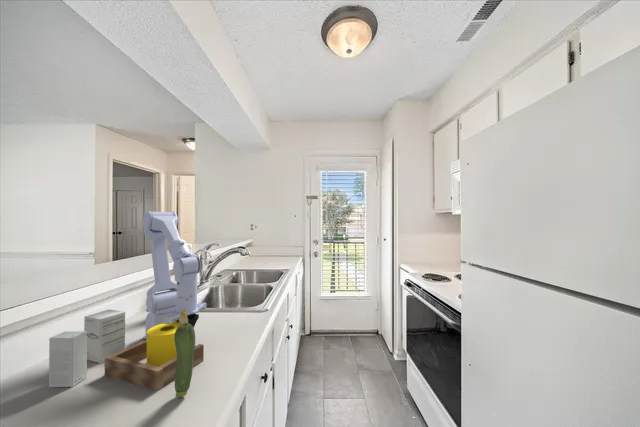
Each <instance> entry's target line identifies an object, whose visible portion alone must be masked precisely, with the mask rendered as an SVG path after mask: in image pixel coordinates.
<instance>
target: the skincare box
mask: <svg viewBox="0 0 640 427" xmlns="http://www.w3.org/2000/svg"><path fill="white" fill-rule="evenodd" d="M48 341H49V345H48V346H49V348H48V349H49V350H48V352H49V353H48V354H49V355H48V357H49V358H48V360H49V361H48V373H49V374H48V388H72V387H74V386H77V385H78V384H79V383H81V382H82V381H84V380H85V379H86V378H87V377H88V375H87V373H88V368H87V367H88V364H87V363H88V360H87V331H84V330H82V331H81V330H80V331H71V330H70V331H63V332H60V333H58V334H55V335H53V336H50V337H49V340H48Z"/></svg>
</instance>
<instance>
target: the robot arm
mask: <svg viewBox="0 0 640 427" xmlns="http://www.w3.org/2000/svg"><path fill="white" fill-rule="evenodd" d="M178 222H179V217H178V214H177V213H176V212H175V211H150V210H149V211H148V210H147V211H145V212H144V214H143V217H142V227H143V228H142V229H143V233H144V237H146V238H149V244H150V250H151V252H150V253H151V260H152V268H153V276H154V284H153V285H151V287H150V288H149V289H148V290H147V292H146V301H145V303H146V309H147V311H148V313H147V315H146V317H145V323H144V324H145V327H144V328H145V329H144V330H145V331H144V332H145V333H144V336H143V337H142V339H145V340H147V331H148V330H149V329H150V328H152V327H154V326H157V325H160V324H172V322H179V317H180V314H181V311H182V310H183V309H185V311H186V313H187V318H188V323H189V324H191V325H192V326H193V328H194V329H195V327H196V326H195V325H196V324H197V321H198V320H199V318H200V314H198V313H199V312H200V311H202V310H207V308H208V307H207V306H208V304H207V302H200V303H198V274H199V273H200V272H201V267H202V264H201V263H202V262H201V259H200V257H199V256H198V255H196V254H195V253H191V251H190V249H189V247H188V245H187V244H188V243H187V241H186V240H185V239H182V238H181V237H180V232H179V231H178ZM167 242H168V246H167ZM168 253H169V254H168ZM168 255H170V257H171V259H172V262H173V266H172V270H173V273H174V274H173V275H174V281H173V280H172V279H171V272H170V271H171V270H170V265H169V264H170V263H169V257H168ZM175 282H176V283H175Z"/></svg>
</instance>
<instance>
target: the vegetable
mask: <svg viewBox="0 0 640 427" xmlns="http://www.w3.org/2000/svg"><path fill="white" fill-rule="evenodd" d="M179 322H180V324H181V325H180V326H179V327H178V328H177V329H176V332H175V336H174V340H175V346H176V353H177V365H176V372H175V379H174V390H175V397H176V398H178V399H179V398H181V397H185V396H186V395H187V393H188V390H189V389H190V387H191V381H192V376H193V369H194V367H193V358H194V350H195V346H196V332H195V327H194V328H193V326H192V325H191V324H189V323H188V318H187V313H186V311H185V309H183V310H182V311H181V314H180V317H179Z"/></svg>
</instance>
